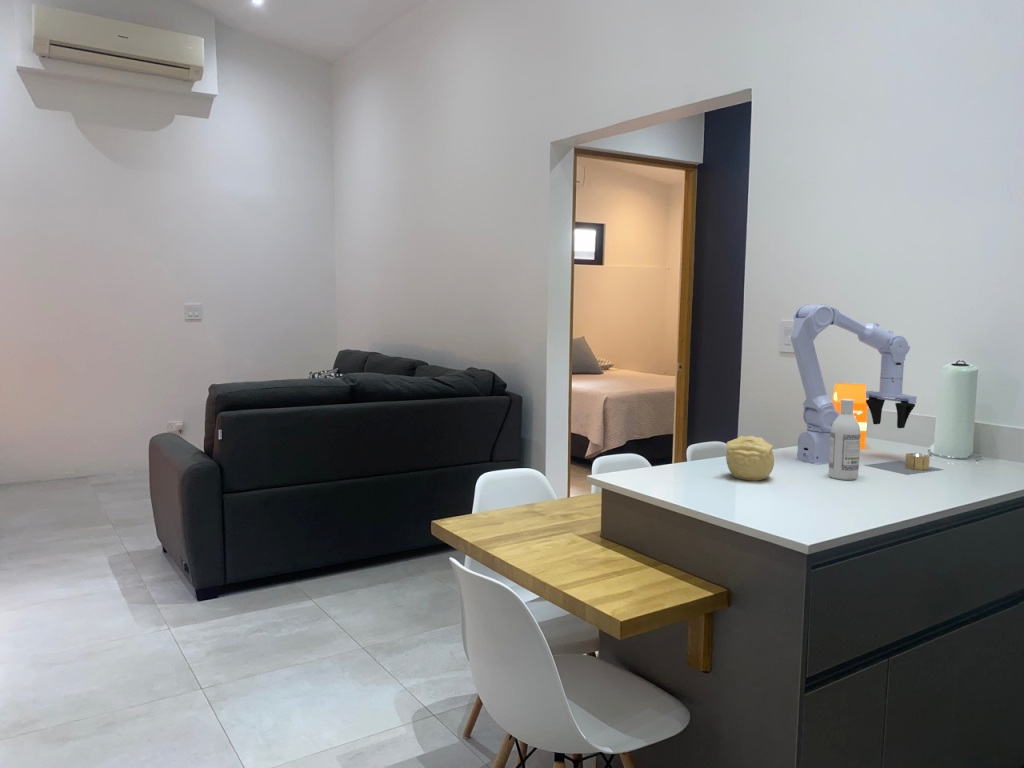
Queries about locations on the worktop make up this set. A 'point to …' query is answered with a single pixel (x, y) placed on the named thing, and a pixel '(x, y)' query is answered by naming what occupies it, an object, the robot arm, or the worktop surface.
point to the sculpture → (750, 458)
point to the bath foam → (845, 444)
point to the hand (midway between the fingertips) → (888, 426)
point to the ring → (917, 462)
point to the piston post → (917, 454)
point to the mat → (899, 467)
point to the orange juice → (859, 407)
